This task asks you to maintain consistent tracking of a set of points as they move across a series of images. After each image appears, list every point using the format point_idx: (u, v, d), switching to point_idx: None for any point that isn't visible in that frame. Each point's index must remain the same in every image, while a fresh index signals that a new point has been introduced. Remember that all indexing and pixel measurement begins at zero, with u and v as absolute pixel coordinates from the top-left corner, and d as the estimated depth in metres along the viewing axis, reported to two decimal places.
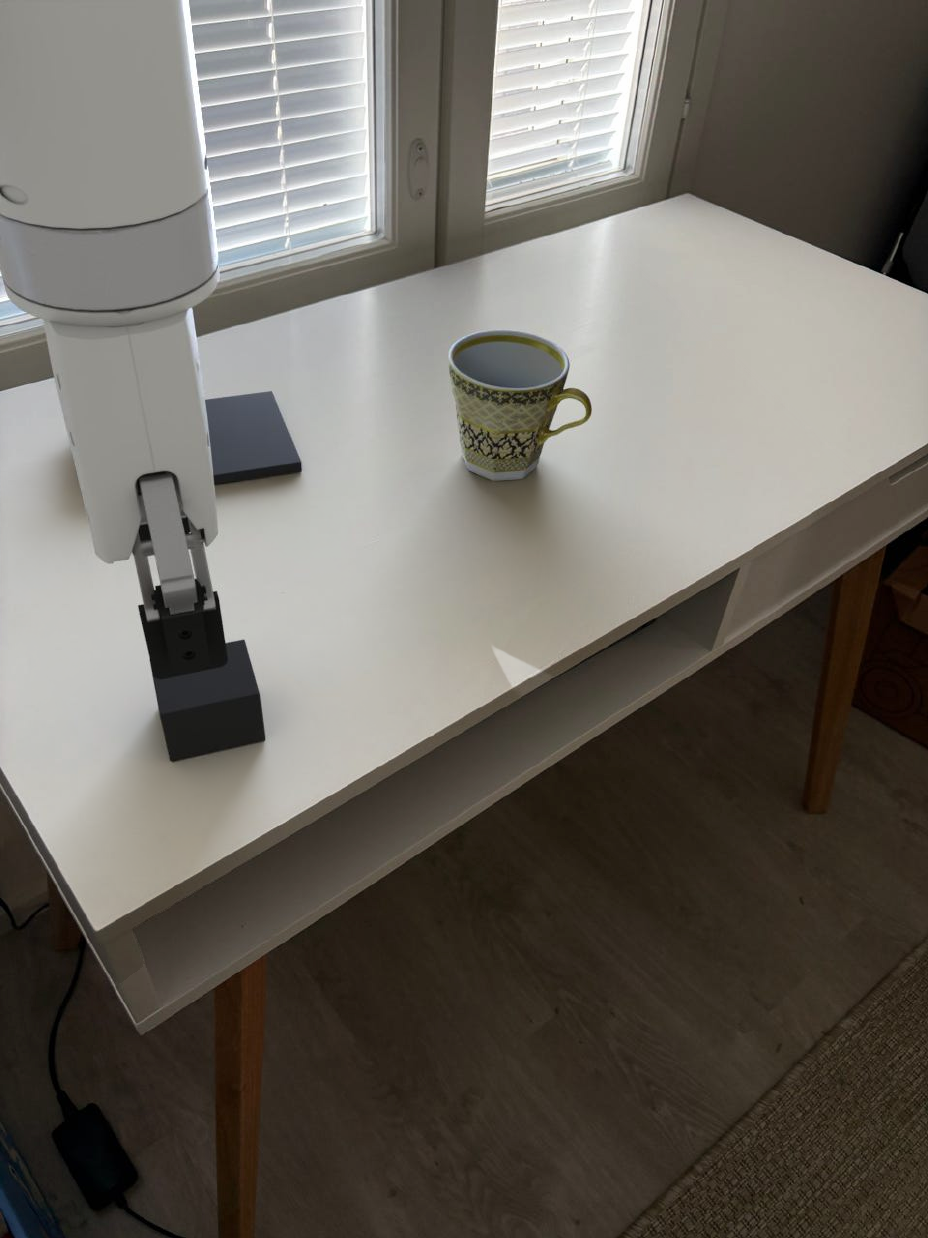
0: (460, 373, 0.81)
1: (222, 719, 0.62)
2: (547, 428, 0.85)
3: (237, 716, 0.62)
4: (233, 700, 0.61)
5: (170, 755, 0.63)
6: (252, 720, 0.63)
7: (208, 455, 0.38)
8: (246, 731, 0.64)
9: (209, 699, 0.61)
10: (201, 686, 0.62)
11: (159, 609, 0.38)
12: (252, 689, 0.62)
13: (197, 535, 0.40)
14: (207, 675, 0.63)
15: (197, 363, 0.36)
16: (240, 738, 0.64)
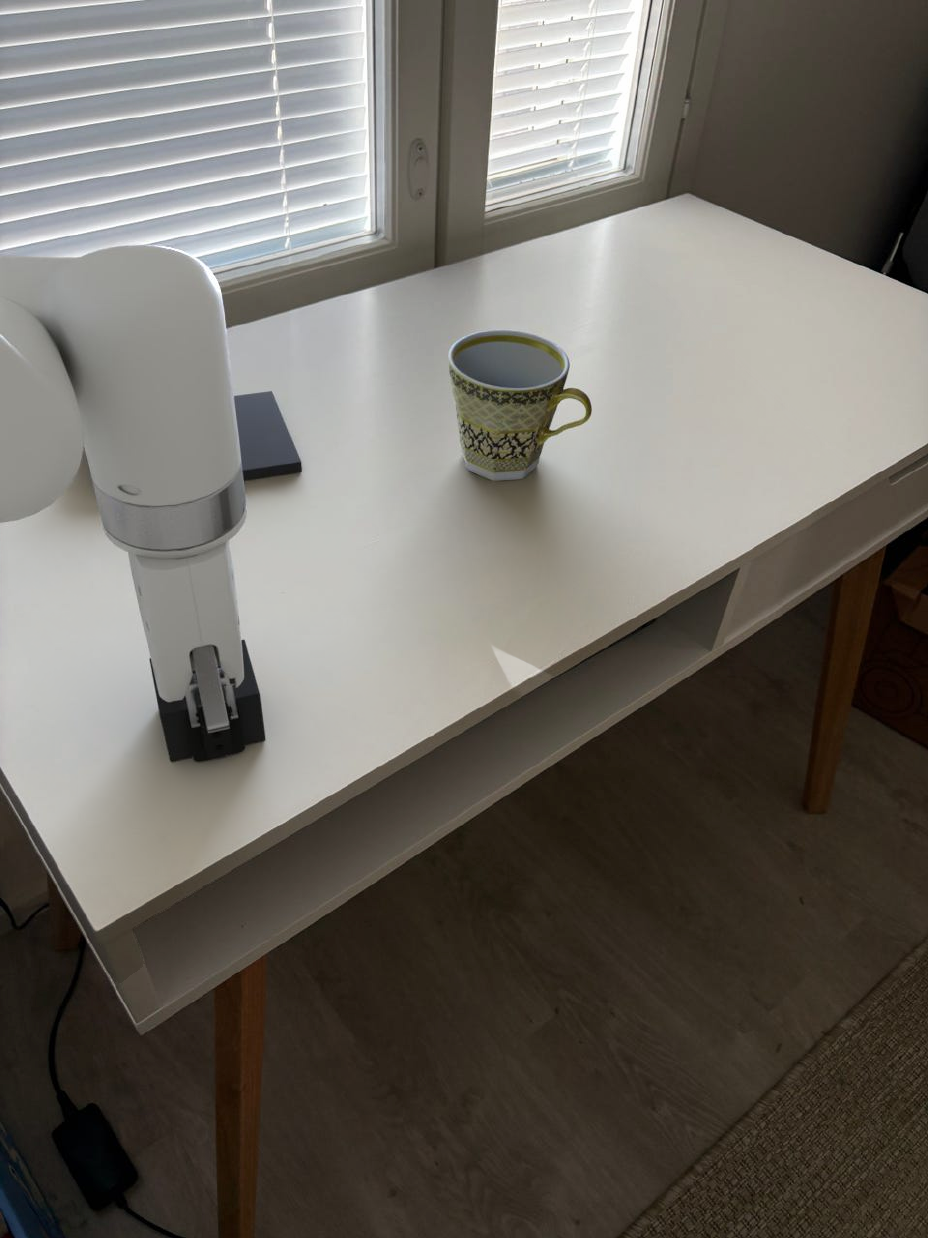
0: (460, 373, 0.81)
1: None
2: (547, 428, 0.85)
3: None
4: None
5: (170, 755, 0.63)
6: (252, 720, 0.63)
7: (238, 631, 0.55)
8: (246, 731, 0.64)
9: None
10: None
11: (201, 723, 0.57)
12: (252, 689, 0.62)
13: (228, 678, 0.59)
14: None
15: (232, 574, 0.54)
16: None
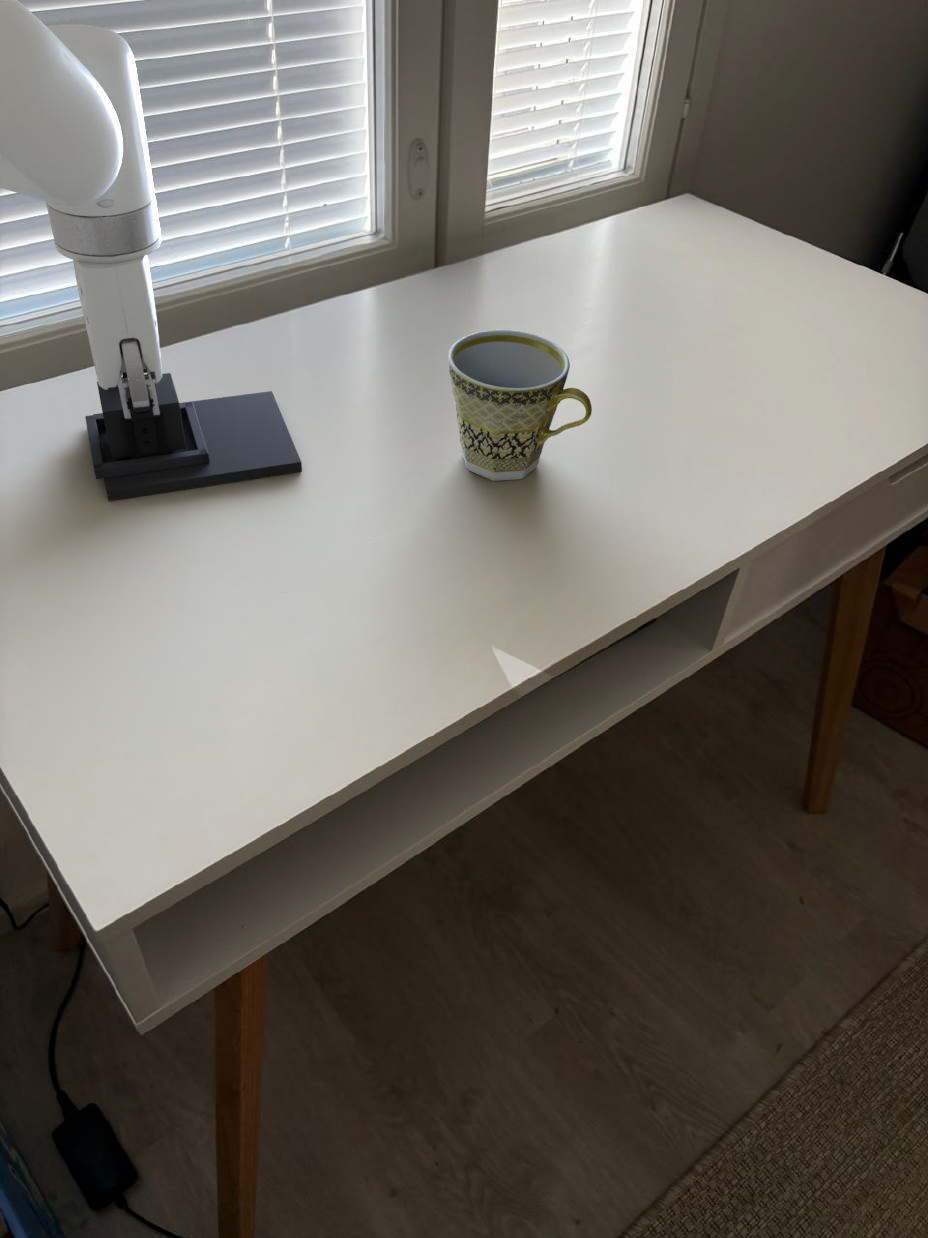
0: (460, 373, 0.81)
1: None
2: (547, 428, 0.85)
3: None
4: None
5: (112, 452, 0.83)
6: (174, 427, 0.83)
7: (155, 331, 0.75)
8: (170, 437, 0.84)
9: None
10: None
11: (130, 408, 0.78)
12: (173, 400, 0.82)
13: (151, 379, 0.79)
14: None
15: (149, 283, 0.74)
16: None
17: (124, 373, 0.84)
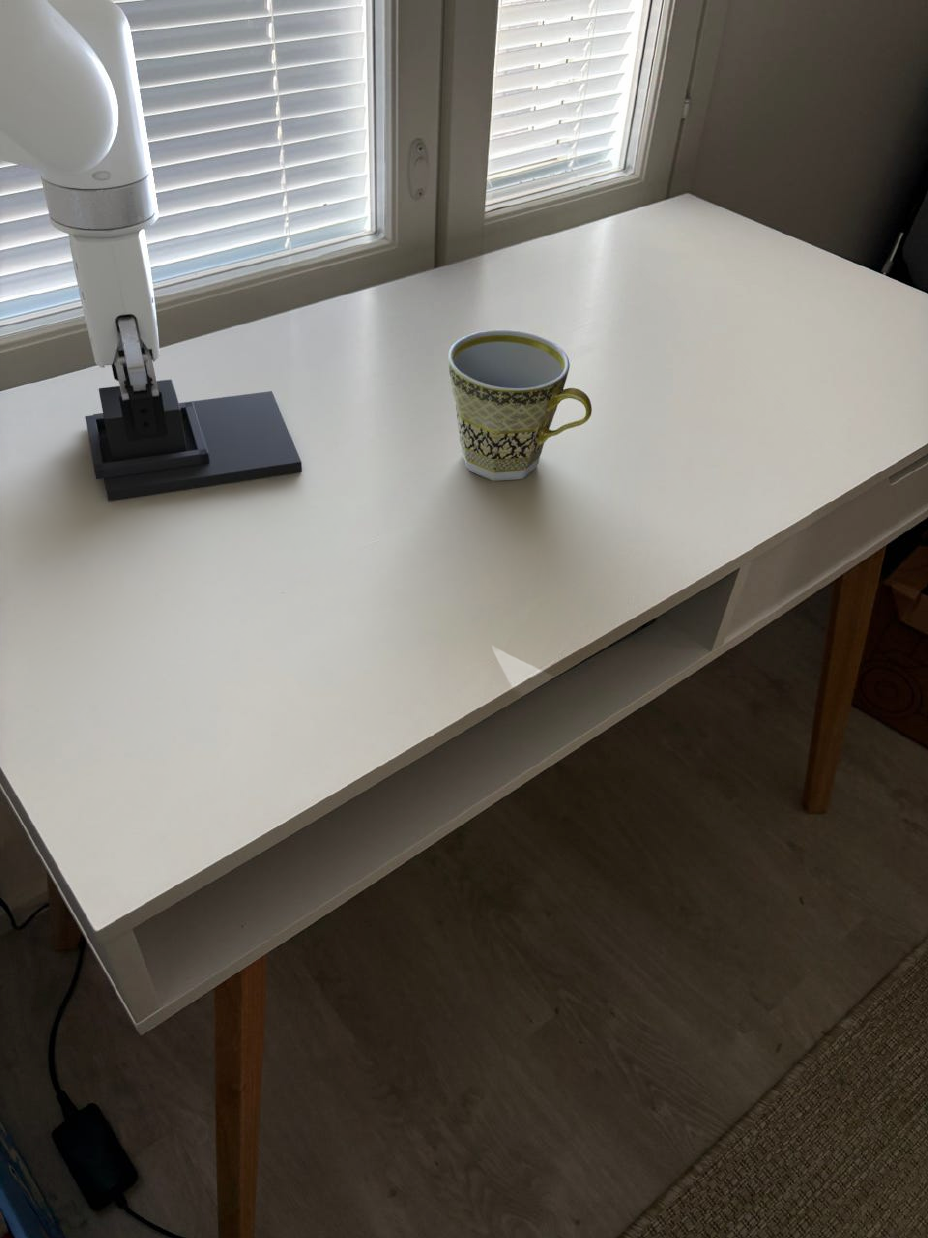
0: (460, 373, 0.81)
1: None
2: (547, 428, 0.85)
3: None
4: None
5: (114, 459, 0.84)
6: (176, 434, 0.84)
7: (152, 307, 0.74)
8: (172, 443, 0.84)
9: None
10: None
11: (128, 387, 0.75)
12: (174, 407, 0.83)
13: (148, 354, 0.77)
14: None
15: (146, 258, 0.73)
16: (167, 450, 0.85)
17: None
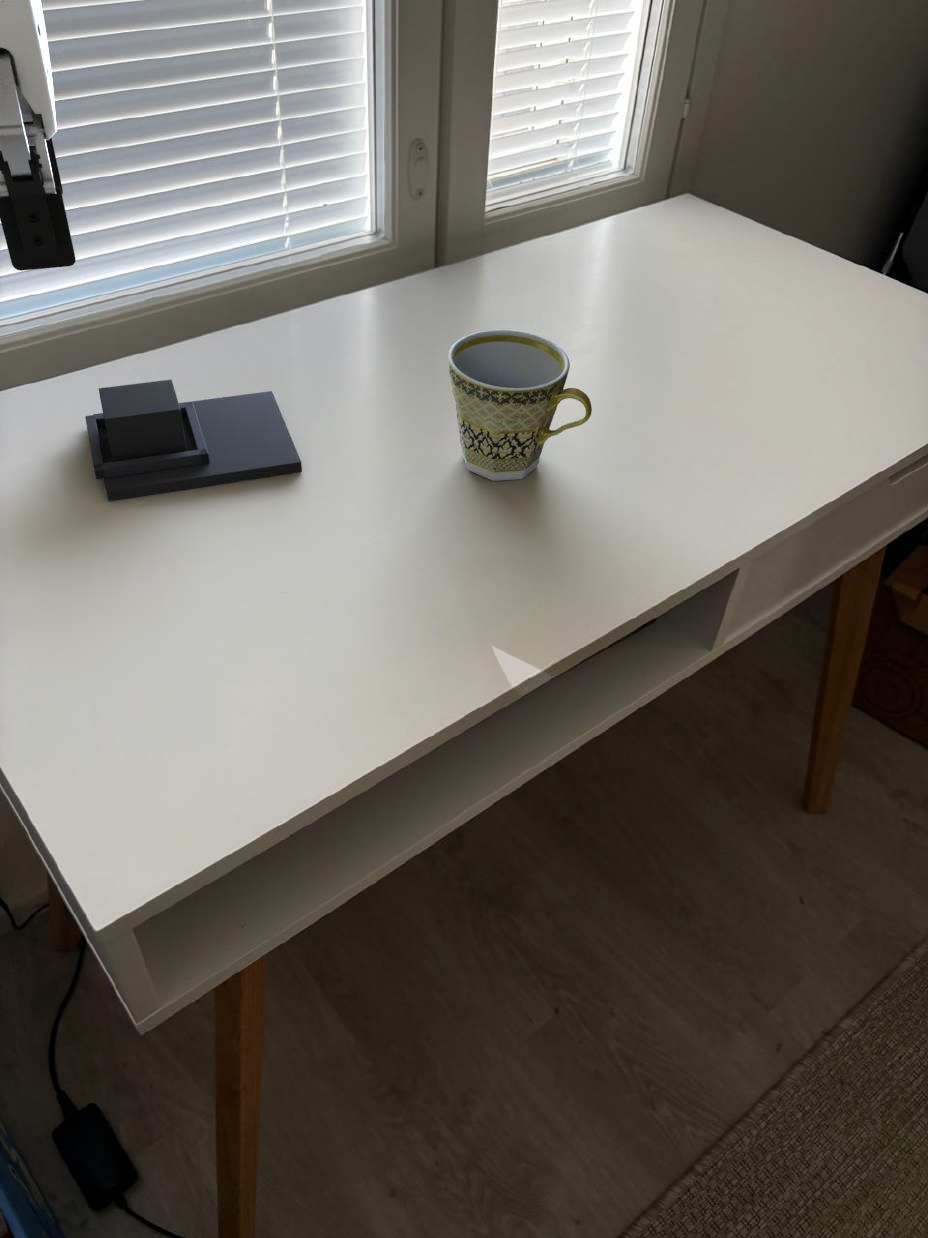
0: (460, 373, 0.81)
1: (152, 429, 0.83)
2: (547, 428, 0.85)
3: (163, 428, 0.83)
4: (160, 413, 0.82)
5: (114, 459, 0.84)
6: (176, 434, 0.84)
7: (39, 42, 0.48)
8: (172, 443, 0.84)
9: (142, 411, 0.82)
10: (136, 404, 0.83)
11: (1, 166, 0.48)
12: (174, 407, 0.83)
13: (38, 126, 0.50)
14: (142, 398, 0.83)
15: None
16: (167, 450, 0.85)
17: None
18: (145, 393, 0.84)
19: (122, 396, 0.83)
